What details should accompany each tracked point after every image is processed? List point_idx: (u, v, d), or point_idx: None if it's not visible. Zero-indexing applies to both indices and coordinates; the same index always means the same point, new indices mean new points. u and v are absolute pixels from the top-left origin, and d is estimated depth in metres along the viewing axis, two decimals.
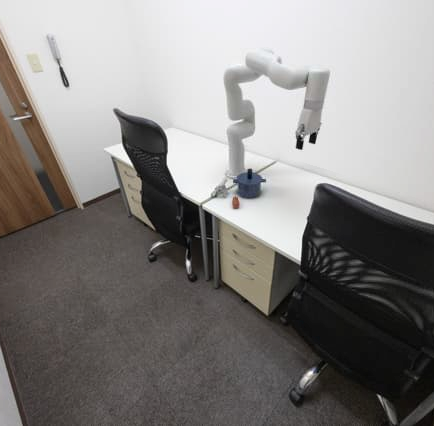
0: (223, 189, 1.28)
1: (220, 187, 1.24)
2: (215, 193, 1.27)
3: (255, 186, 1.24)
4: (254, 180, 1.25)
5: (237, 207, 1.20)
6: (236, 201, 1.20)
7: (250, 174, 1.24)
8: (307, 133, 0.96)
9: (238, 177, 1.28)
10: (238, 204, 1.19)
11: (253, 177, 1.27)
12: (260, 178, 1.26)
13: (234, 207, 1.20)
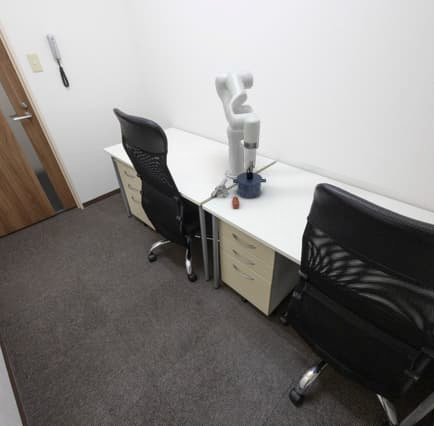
0: (223, 189, 1.28)
1: (220, 187, 1.24)
2: (215, 193, 1.27)
3: (255, 186, 1.24)
4: (254, 180, 1.25)
5: (237, 207, 1.20)
6: (236, 201, 1.20)
7: None
8: (254, 166, 1.19)
9: (238, 177, 1.28)
10: (238, 204, 1.19)
11: (253, 177, 1.27)
12: (260, 178, 1.26)
13: (234, 207, 1.20)
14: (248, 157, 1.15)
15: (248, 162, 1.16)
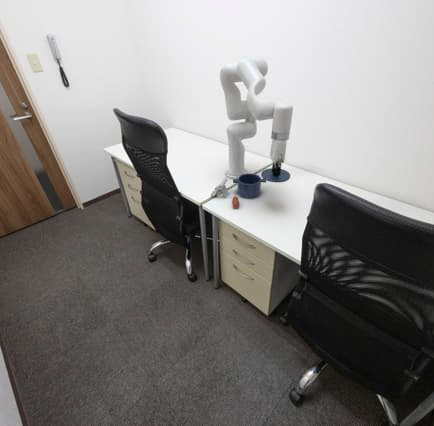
0: (223, 189, 1.28)
1: (220, 187, 1.24)
2: (215, 193, 1.27)
3: (255, 186, 1.24)
4: (281, 177, 1.09)
5: (237, 207, 1.20)
6: (236, 201, 1.20)
7: None
8: None
9: (262, 173, 1.12)
10: (238, 204, 1.19)
11: (280, 173, 1.12)
12: (288, 174, 1.11)
13: (234, 207, 1.20)
14: (277, 150, 0.99)
15: (277, 156, 1.01)
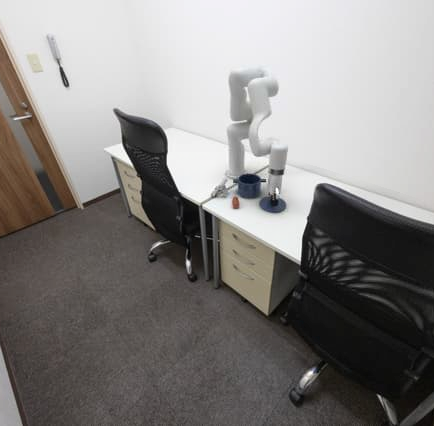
0: (223, 189, 1.28)
1: (220, 187, 1.24)
2: (215, 193, 1.27)
3: (255, 186, 1.24)
4: (278, 206, 1.19)
5: (237, 207, 1.20)
6: (236, 201, 1.20)
7: None
8: None
9: (260, 202, 1.22)
10: (238, 204, 1.19)
11: None
12: (284, 203, 1.21)
13: (234, 207, 1.20)
14: (273, 184, 1.09)
15: (273, 189, 1.10)
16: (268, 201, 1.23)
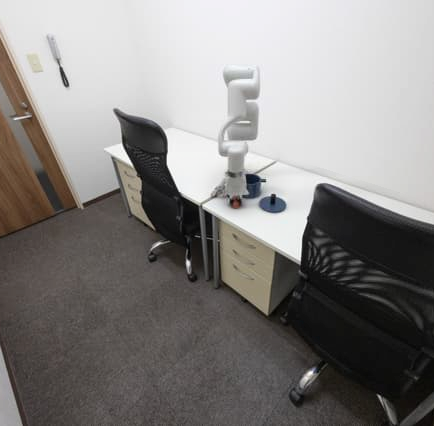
0: (223, 189, 1.28)
1: (220, 187, 1.24)
2: (215, 193, 1.27)
3: (255, 186, 1.24)
4: (278, 206, 1.19)
5: (237, 207, 1.20)
6: (236, 201, 1.20)
7: (274, 200, 1.19)
8: None
9: (260, 202, 1.22)
10: (238, 204, 1.19)
11: (276, 202, 1.22)
12: (284, 203, 1.21)
13: (234, 207, 1.20)
14: (245, 182, 1.13)
15: None
16: (268, 201, 1.23)
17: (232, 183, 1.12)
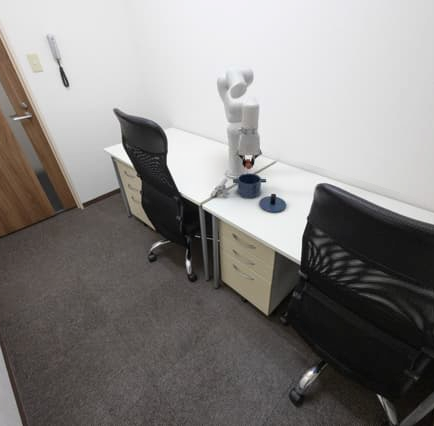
0: (223, 189, 1.28)
1: (220, 187, 1.24)
2: (215, 193, 1.27)
3: (255, 186, 1.24)
4: (278, 206, 1.19)
5: (250, 168, 1.18)
6: (249, 162, 1.18)
7: (274, 200, 1.19)
8: None
9: (260, 202, 1.22)
10: (251, 165, 1.18)
11: (276, 202, 1.22)
12: (284, 203, 1.21)
13: (247, 168, 1.18)
14: (259, 141, 1.12)
15: (259, 146, 1.13)
16: (268, 201, 1.23)
17: (246, 141, 1.11)
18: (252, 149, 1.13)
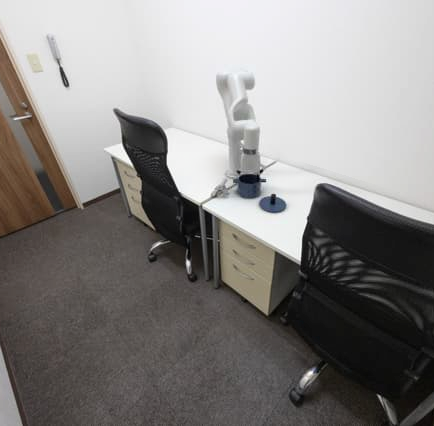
0: (223, 189, 1.28)
1: (220, 187, 1.24)
2: (215, 193, 1.27)
3: (255, 186, 1.24)
4: (278, 206, 1.19)
5: None
6: None
7: (274, 200, 1.19)
8: None
9: (260, 202, 1.22)
10: None
11: (276, 202, 1.22)
12: (284, 203, 1.21)
13: None
14: None
15: (260, 164, 1.21)
16: (268, 201, 1.23)
17: (247, 160, 1.18)
18: (253, 167, 1.21)
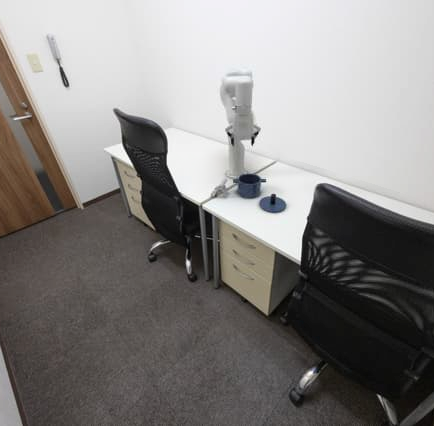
0: (223, 189, 1.28)
1: (220, 187, 1.24)
2: (215, 193, 1.27)
3: (255, 186, 1.24)
4: (278, 206, 1.19)
5: None
6: None
7: (274, 200, 1.19)
8: None
9: (260, 202, 1.22)
10: None
11: (276, 202, 1.22)
12: (284, 203, 1.21)
13: None
14: (253, 120, 1.10)
15: (253, 126, 1.12)
16: (268, 201, 1.23)
17: (239, 120, 1.09)
18: (246, 128, 1.12)
